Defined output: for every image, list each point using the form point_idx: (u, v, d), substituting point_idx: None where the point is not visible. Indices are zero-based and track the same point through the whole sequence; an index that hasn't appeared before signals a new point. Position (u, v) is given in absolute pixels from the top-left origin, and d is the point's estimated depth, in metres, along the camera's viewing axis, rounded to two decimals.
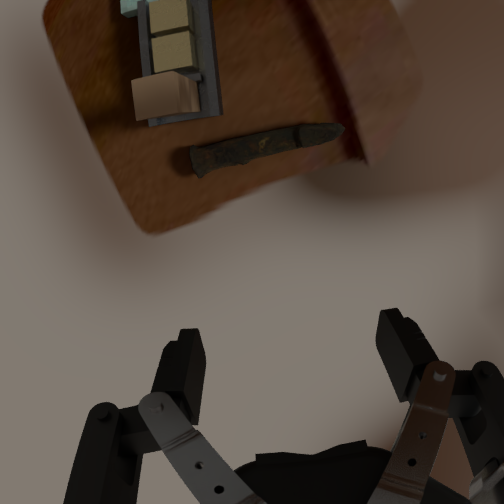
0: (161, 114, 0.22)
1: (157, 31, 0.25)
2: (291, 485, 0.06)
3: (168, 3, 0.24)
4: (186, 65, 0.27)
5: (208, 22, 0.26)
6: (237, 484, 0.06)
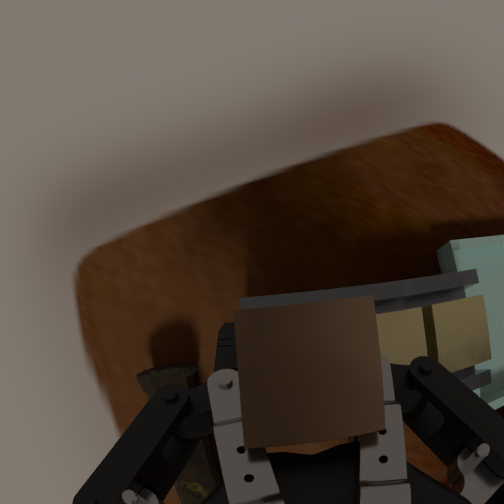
0: (244, 397, 0.07)
1: (433, 317, 0.15)
2: (291, 485, 0.06)
3: (480, 331, 0.14)
4: None
5: None
6: (237, 484, 0.06)
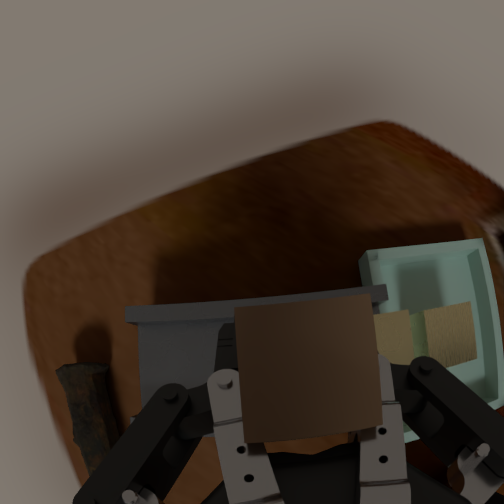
0: (244, 393, 0.07)
1: (470, 311, 0.17)
2: (291, 485, 0.06)
3: None
4: None
5: None
6: (237, 484, 0.06)
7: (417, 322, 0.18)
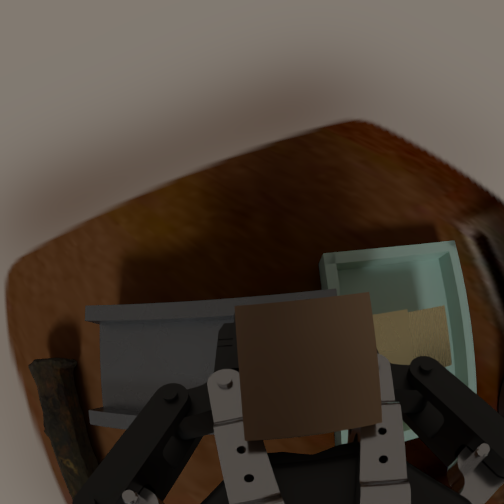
0: (244, 391, 0.07)
1: (444, 315, 0.17)
2: (291, 485, 0.06)
3: None
4: None
5: None
6: (237, 484, 0.06)
7: None
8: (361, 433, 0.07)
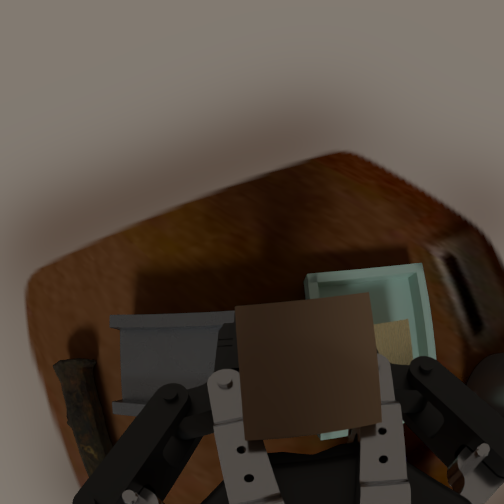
0: (244, 391, 0.07)
1: (408, 327, 0.22)
2: (291, 485, 0.06)
3: None
4: None
5: None
6: (237, 484, 0.06)
7: None
8: (361, 433, 0.07)
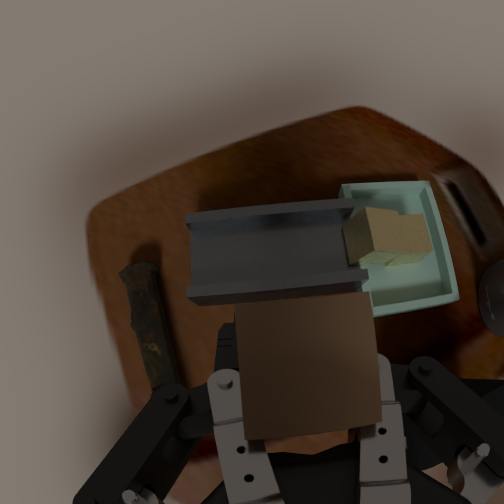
0: (244, 390, 0.07)
1: (424, 219, 0.28)
2: (291, 485, 0.06)
3: None
4: (373, 243, 0.25)
5: (314, 284, 0.26)
6: (237, 484, 0.06)
7: None
8: (361, 433, 0.07)
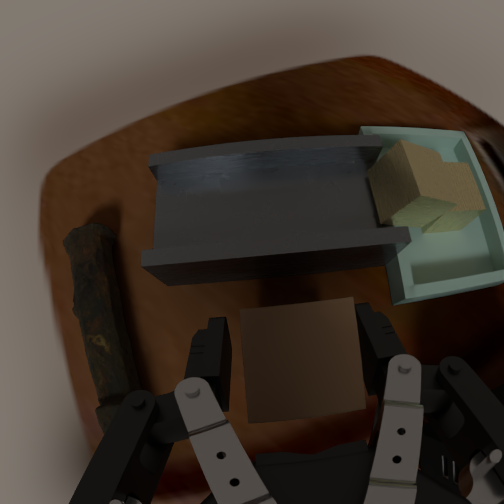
0: (248, 380, 0.09)
1: (469, 170, 0.19)
2: (291, 485, 0.06)
3: None
4: (418, 186, 0.16)
5: (334, 246, 0.17)
6: (237, 484, 0.06)
7: None
8: (380, 431, 0.07)
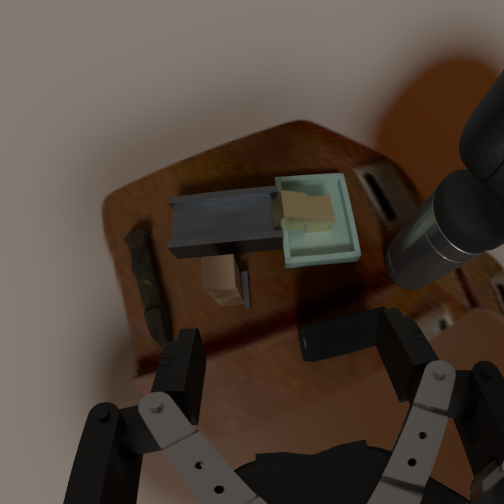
0: (203, 276, 0.34)
1: (330, 199, 0.44)
2: (291, 485, 0.06)
3: None
4: (284, 212, 0.41)
5: (246, 239, 0.42)
6: (237, 484, 0.06)
7: None
8: (403, 431, 0.07)
